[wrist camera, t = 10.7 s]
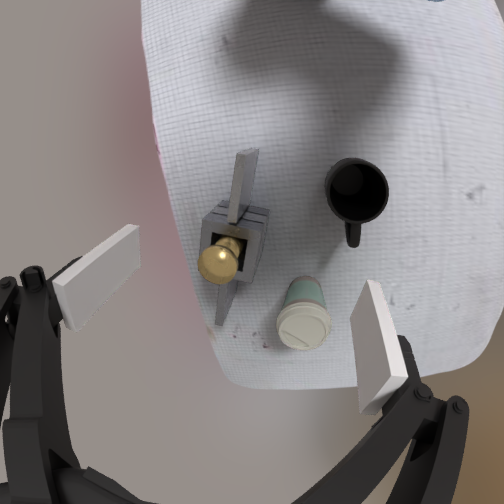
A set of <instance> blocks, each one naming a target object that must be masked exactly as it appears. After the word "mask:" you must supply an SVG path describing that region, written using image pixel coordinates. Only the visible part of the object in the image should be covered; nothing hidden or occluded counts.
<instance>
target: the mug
mask: <svg viewBox="0 0 504 504" xmlns="http://www.w3.org/2000/svg"><path fill="white" fill-rule="evenodd" d="M325 194H326V197H327V201H328V204H329V206H330V208H331V210H332V211H333V212H334V213H335V214H336V216H338V217H339V218H340V219H342V220H344V221H345V229H346V239H347V244H348V246H349V247H352V248H356V247H358V246H359V243H360V236H361V224H363V223H366V222H370V221H372V220H373V219H375V218H376V217H378V216H379V215H380V214H381V213H382V211H383V210H384V208H385V206H386V204H387V201H388V197H389V187H388V183H387V180H386V178H385V176H384V174H383V173H382V172H381V171H380V169H378V168H377V167H376V166H375V165H373V164H371V163H369V162H367V161H365V160H363V159H359V158H347V159H343V160H341V161H339V162H337V163H336V164H335V165H334V166H332V167H331V169H330V170H329V172H328V174H327V177H326V180H325Z"/></svg>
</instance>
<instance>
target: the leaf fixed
mask: <svg viewBox="0 0 504 504" xmlns="http://www.w3.org/2000/svg"><path fill="white" fill-rule="evenodd" d="M229 203H230V202H229V201H224V200H223V201H221V202H220V203H219V204H218V205H217V206H219V207H224V208H229ZM244 212H249V213H254V214H259V215H263V216H267V222H266V227H265V232H264V237H263V243H262V248H261V253H260V257H261V254H262V250H263V245H264V240H265V234H266V229H267V224H268V219H269V213H270V210H269V209H264V208H259V207H254V206H248V207H247V208H246V210H245V211H244ZM227 218H228V216H223V215H218V214H213V213H209V214H207V215H206V216H205V217H204V218H203V219H202V229H201V240H200V253H199V256H200V255H201V254H202V252H203V251H204V250H205V249H206V248H207V247H209V246H211V245H215V244H216V239H217V233H219V234H222V235H223V234H224V235H229V236H233V237H238V238H242V239H247V240H248V242H246V243H245V245H244V247H243V249H242V250H243V251H246V255H245V261H244V262H243V261H239V260H238V269H237V272H236V274H235V276H234V278H233V279H232V280H231V281H229V282H228V283H225V284H219V292H218V301H217V311H216V320H215V324H216V325H220V326H222V325H223V323H224V320H225V318H226V316H227V313H228V311H229V308H230V306H231V304H232V301H233V299H234V296H235V294H236V289H237V283H238V280H239V281H243V282H248V283H252V281H253V278H254V275H255V271H256V266H257V260H258V255H259V250H260V244H261V239H262V234H263V228H264V224H262V223H257V222H252V221H248V220H243V219H239V220H238V221H237V223H232V222H227ZM259 260H260V258H259ZM198 271H199V269H198Z"/></svg>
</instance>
